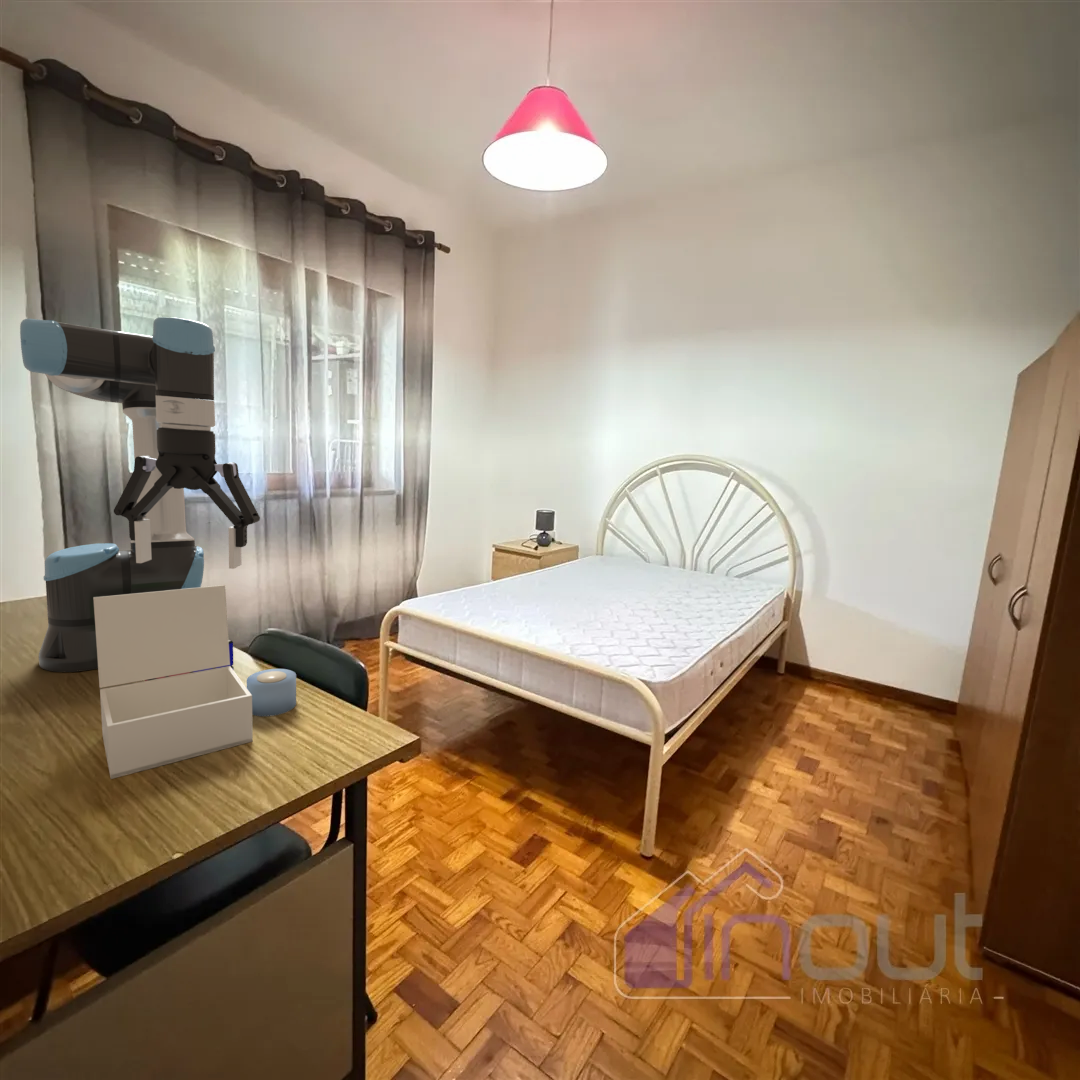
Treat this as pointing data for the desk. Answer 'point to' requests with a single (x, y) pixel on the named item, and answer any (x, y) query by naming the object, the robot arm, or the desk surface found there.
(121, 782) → the desk surface
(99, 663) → the hinged white flap
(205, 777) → the desk surface
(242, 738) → the carton
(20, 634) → the desk surface
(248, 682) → the blue domed cylinder
